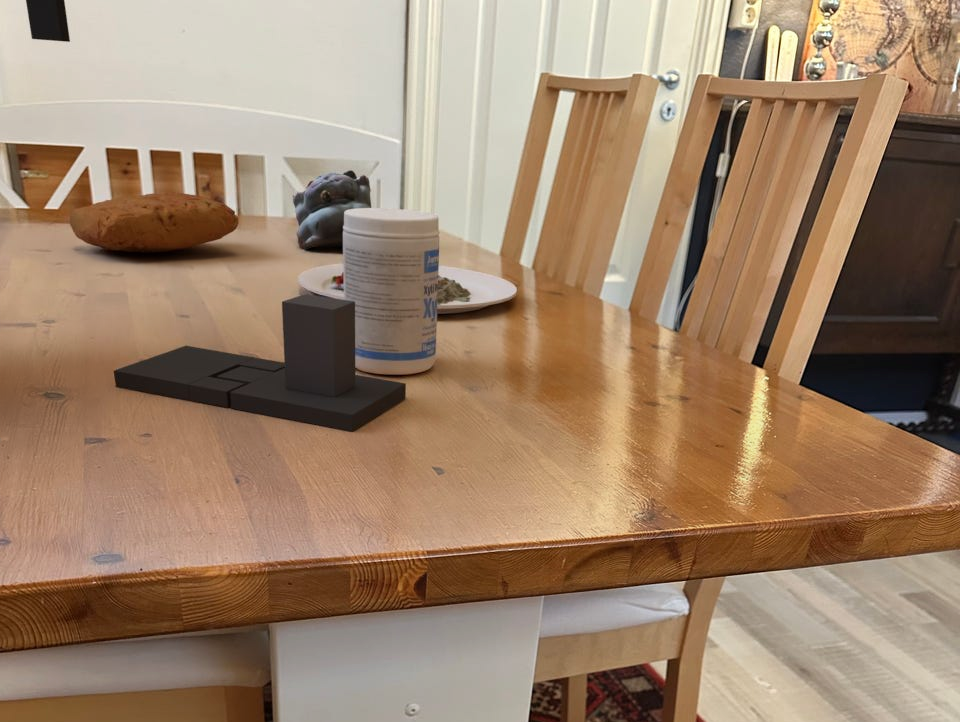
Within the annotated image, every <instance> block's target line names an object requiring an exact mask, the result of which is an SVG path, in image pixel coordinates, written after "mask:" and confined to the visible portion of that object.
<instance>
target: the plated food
mask: <svg viewBox="0 0 960 722" xmlns="http://www.w3.org/2000/svg"><path fill="white" fill-rule="evenodd" d="M297 283H299V285H300V286H301V287H302V288H304V289H306V290H308V291H309V292H312V293H315V294H318V295H319V296H320V295H321V296H323V297H328V298H335V299H341V300H344V275H343V262H341V263H334V264H325V265H320V266H316V267H312V268H309V269H306V270H304V271H303V272H301V273H299V275H298V277H297ZM517 292H518V288H517V287H516V285H515V284H514V283H512V282H511V281H509V280H507V279H504V278H502V277H499V276H496V275H493V274H490V273H485V272H481V271H476V270H471V269H466V268H460V267H453V266H446V265H439V271H438V301H437V315H443V314H445V315H446V314H459V313H466V312H472V311H473V312H474V311H478V310H481V309H484V308H487V307H488V306H491V305H497V304H501V303H504V302H507V301H510V300H511V299H513V298H514V297H516V295H517Z"/></svg>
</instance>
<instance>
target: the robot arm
mask: <svg viewBox="0 0 960 722" xmlns="http://www.w3.org/2000/svg"><path fill="white" fill-rule="evenodd" d="M25 4H26V10H27V16H28V22H29V29H30V36H31V40H37V41H38V40H39V41H40V40H41V41H54V42H64V43H65V42H66V43H70V42H71V38H70V31H69V24H68V23H69V22H68V17H67V11H66V9H67V8H66V2H65V0H25Z"/></svg>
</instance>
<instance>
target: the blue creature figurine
mask: <svg viewBox="0 0 960 722" xmlns="http://www.w3.org/2000/svg"><path fill="white" fill-rule="evenodd" d="M371 191H372V190H371V184H370V180H369V177H367V175H364V174H362V175H360V176H357V174H356V173H355V171H354V170H352V169H351V170H347V171H345V172H342V173H336V172H327V173H325V174H321V175H318V176H317V177H316V178H315V179H314V180H310V181H309V182H308V184H307V186H306V187H305V190H304V191H298V190H297V192H296V194H295V195H294V194H292V203H293V206H294V208H295V210H294V211H295V219H296V220H297V224H298V228H297V229H296V237H297V244H298V247H299V248H300V249H302V250H304V251H306V250H308V249H310V248H311V249H312V248H315V247H336V246H338V247H339V246H341V247H342V246H343V226H344V212H345V211H346V210H349V209H357V208H373V207H372V201H371Z"/></svg>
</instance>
